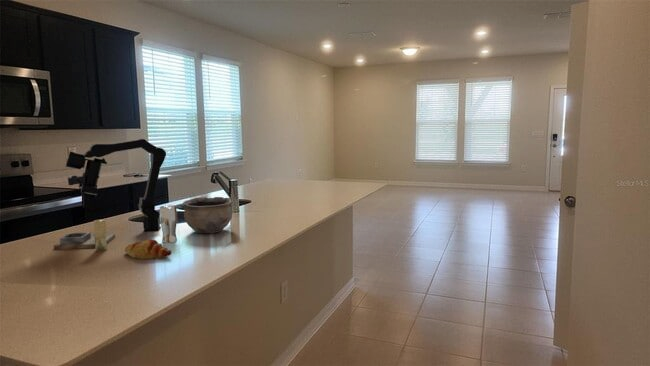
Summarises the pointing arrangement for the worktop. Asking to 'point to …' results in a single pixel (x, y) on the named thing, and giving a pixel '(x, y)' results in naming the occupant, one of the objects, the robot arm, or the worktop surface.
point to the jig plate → (79, 240)
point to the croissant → (147, 250)
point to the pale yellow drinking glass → (100, 235)
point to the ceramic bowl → (208, 214)
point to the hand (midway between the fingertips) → (83, 206)
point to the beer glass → (168, 223)
